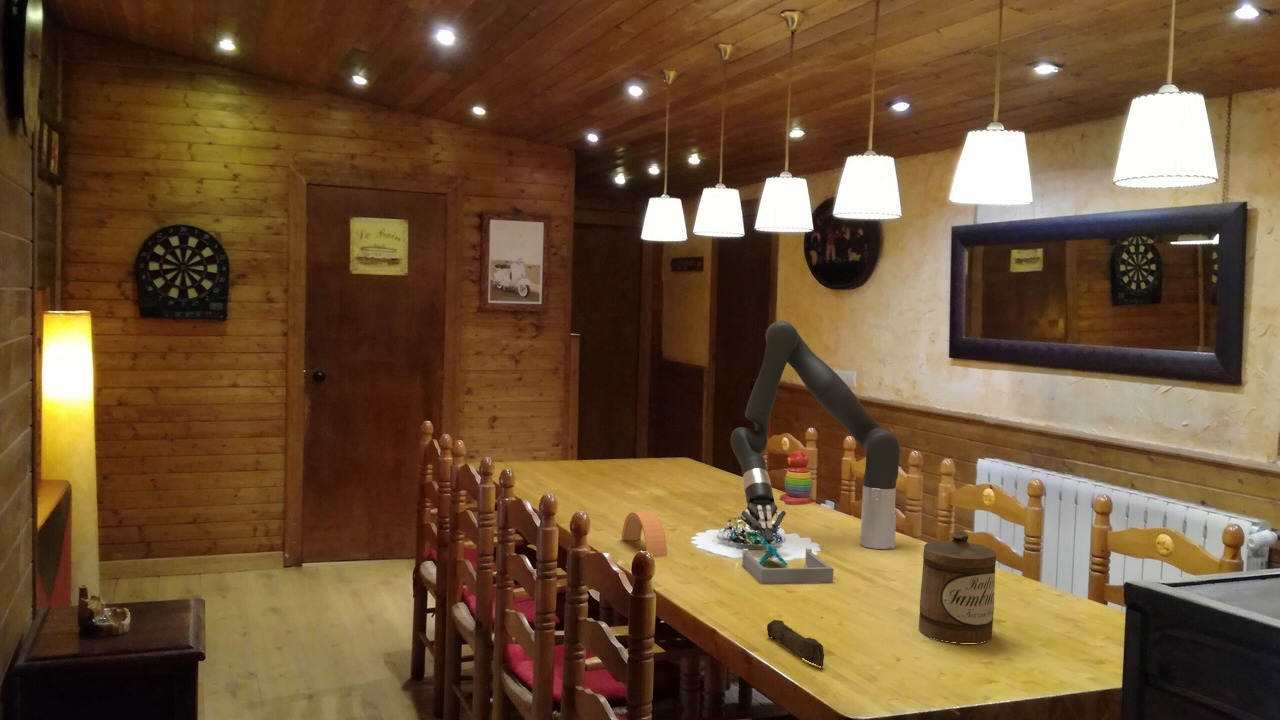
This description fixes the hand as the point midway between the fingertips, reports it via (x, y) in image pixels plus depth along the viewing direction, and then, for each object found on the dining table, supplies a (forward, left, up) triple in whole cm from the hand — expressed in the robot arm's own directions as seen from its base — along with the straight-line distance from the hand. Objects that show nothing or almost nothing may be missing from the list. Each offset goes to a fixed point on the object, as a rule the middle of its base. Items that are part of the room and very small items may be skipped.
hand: (768, 543), depth 266 cm
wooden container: (-37, +53, -5) cm, 65 cm away
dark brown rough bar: (-3, +70, -5) cm, 70 cm away
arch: (+34, -6, -5) cm, 35 cm away
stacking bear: (-14, -82, -5) cm, 83 cm away
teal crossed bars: (-1, +5, -5) cm, 7 cm away
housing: (-4, +13, -5) cm, 14 cm away
